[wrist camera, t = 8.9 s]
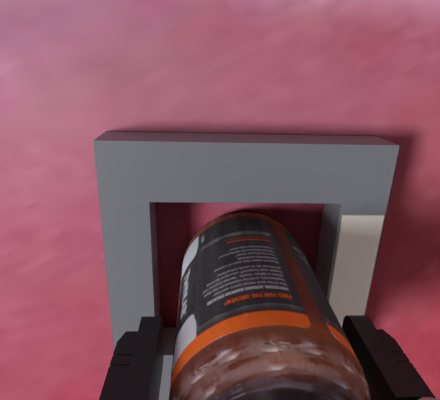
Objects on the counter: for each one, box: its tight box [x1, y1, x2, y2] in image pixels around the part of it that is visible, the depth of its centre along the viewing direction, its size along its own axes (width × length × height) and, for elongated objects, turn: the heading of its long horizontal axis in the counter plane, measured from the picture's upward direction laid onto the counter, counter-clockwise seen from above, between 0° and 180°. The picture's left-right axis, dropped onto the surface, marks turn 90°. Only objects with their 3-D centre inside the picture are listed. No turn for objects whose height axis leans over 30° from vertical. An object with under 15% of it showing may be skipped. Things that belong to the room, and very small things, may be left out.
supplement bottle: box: [169, 212, 371, 400], centre depth 13 cm, size 6×6×11 cm
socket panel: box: [93, 131, 400, 400], centre depth 19 cm, size 12×24×2 cm, turn 179°
